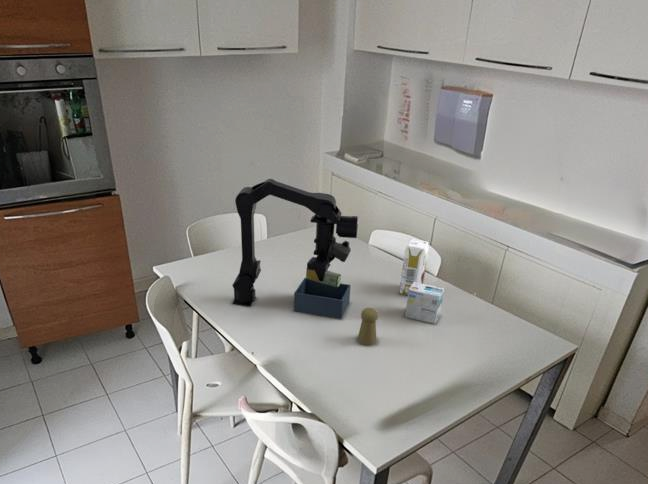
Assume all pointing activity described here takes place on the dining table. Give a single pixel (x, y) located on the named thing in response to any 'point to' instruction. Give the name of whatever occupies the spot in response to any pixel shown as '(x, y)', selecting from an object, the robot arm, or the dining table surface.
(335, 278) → the medication box
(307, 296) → the dark blue open bin
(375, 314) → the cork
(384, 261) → the dining table surface
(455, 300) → the dining table surface
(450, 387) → the dining table surface
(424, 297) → the light bulb box
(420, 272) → the juice carton
